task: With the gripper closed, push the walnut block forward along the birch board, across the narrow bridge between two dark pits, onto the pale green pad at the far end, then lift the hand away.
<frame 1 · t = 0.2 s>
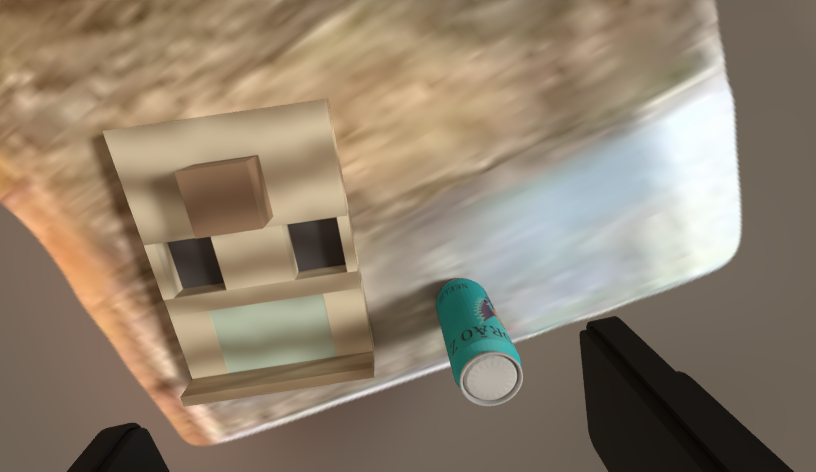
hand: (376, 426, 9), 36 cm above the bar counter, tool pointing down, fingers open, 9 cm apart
walnut block: (234, 190, 41), point 3 cm above the bar counter, touching trap board
trap board: (260, 249, 45), on the bar counter
beverage can: (458, 295, 49), on the bar counter
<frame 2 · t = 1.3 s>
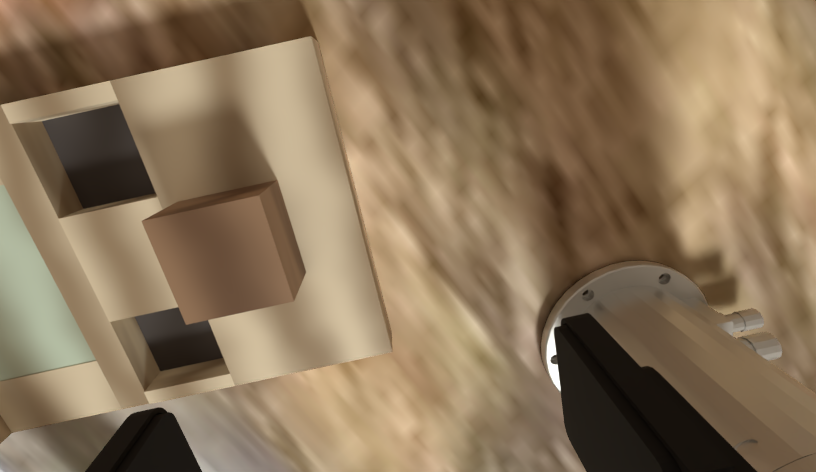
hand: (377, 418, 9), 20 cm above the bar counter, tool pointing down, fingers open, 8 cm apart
walnut block: (244, 238, 26), point 3 cm above the bar counter, touching trap board
trap board: (153, 247, 28), on the bar counter
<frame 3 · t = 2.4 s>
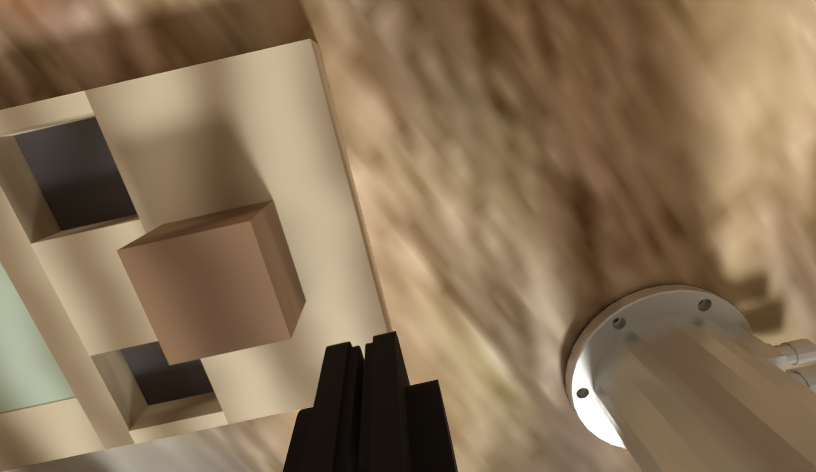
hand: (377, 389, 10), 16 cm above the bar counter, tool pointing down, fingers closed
walnut block: (236, 264, 23), point 3 cm above the bar counter, touching trap board
trap board: (139, 272, 26), on the bar counter
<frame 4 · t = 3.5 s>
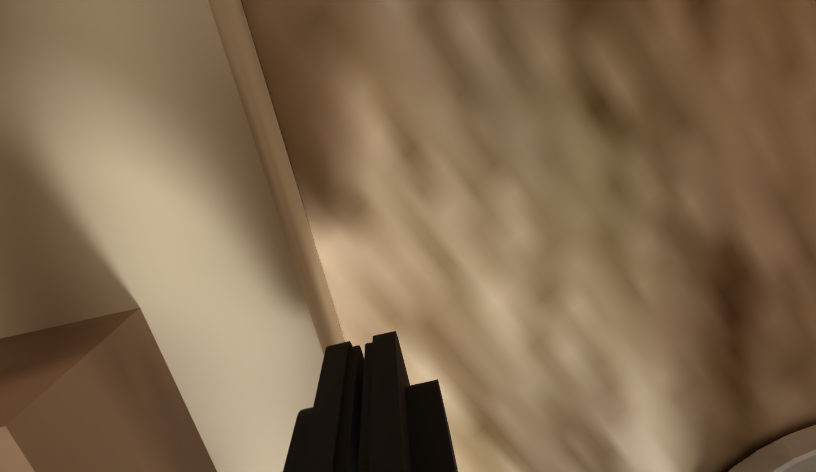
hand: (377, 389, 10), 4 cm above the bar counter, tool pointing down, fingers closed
walnut block: (78, 427, 12), point 3 cm above the bar counter, touching trap board
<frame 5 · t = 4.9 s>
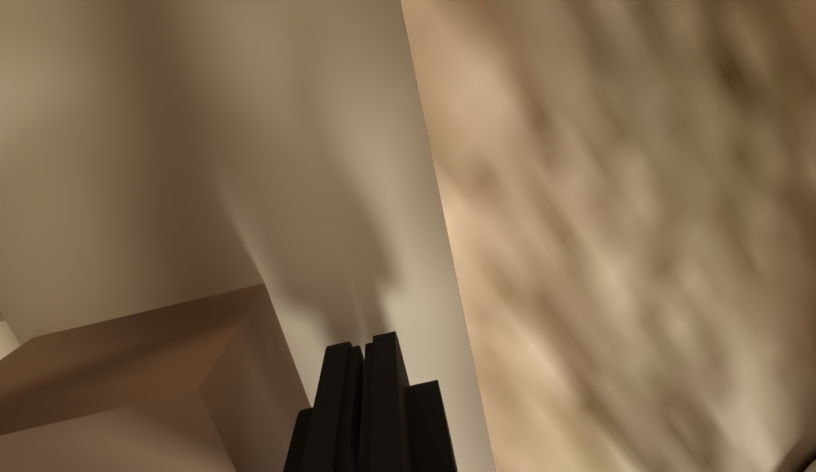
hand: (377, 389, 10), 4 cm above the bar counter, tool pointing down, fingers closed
walnut block: (194, 406, 12), point 3 cm above the bar counter, touching gripper, trap board
trap board: (39, 392, 14), on the bar counter
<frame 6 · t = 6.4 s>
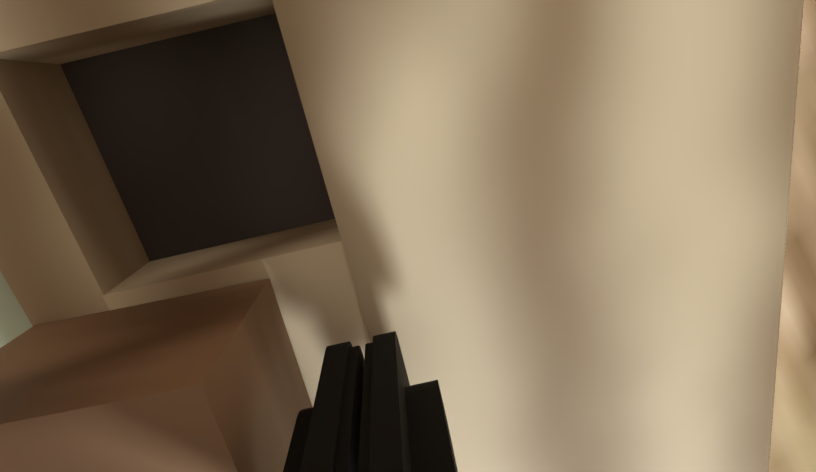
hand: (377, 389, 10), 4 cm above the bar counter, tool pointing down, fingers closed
walnut block: (194, 400, 11), point 3 cm above the bar counter, touching gripper
trap board: (287, 334, 14), on the bar counter
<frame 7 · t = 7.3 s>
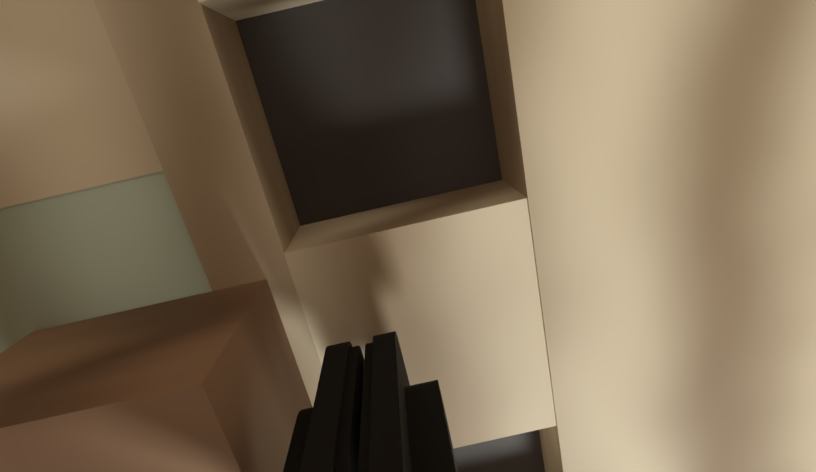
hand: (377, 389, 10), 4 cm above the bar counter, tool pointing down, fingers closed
walnut block: (194, 402, 12), point 2 cm above the bar counter, touching gripper
trap board: (424, 303, 14), on the bar counter
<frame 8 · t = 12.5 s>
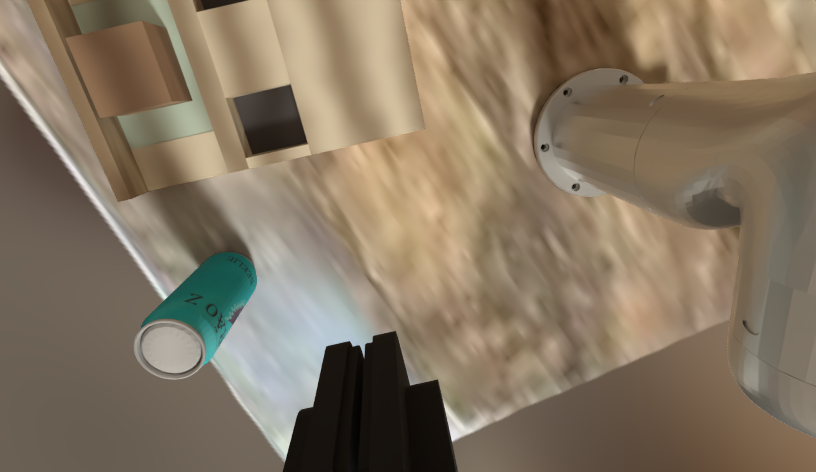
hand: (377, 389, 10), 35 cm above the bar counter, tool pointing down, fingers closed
walnut block: (146, 72, 37), point 2 cm above the bar counter, touching trap board
trap board: (253, 51, 40), on the bar counter
beverage can: (234, 270, 46), on the bar counter
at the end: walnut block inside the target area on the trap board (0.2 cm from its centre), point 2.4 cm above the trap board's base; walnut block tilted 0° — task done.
